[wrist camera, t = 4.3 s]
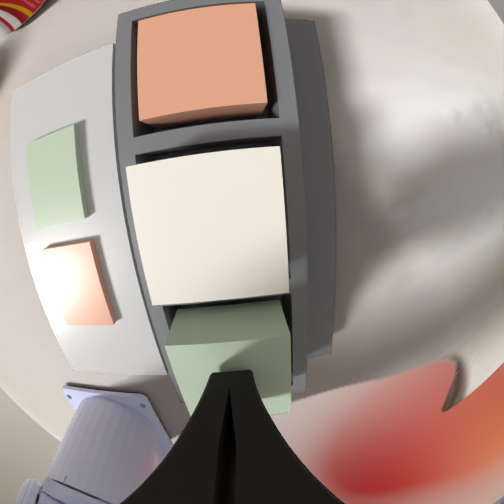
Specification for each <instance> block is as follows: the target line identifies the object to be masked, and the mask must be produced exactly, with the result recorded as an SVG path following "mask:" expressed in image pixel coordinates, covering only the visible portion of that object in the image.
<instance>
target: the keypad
mask: <svg viewBox="0 0 504 504" xmlns="http://www.w3.org/2000/svg"><path fill="white" fill-rule="evenodd" d="M248 3H255V6H256V13H257V20H258V27H259V35H260V42H261V50H262V58H263V67H264V75H265V84H266V93H267V105H266V106H265V108H264V110H263V112H262V114H261V116H252V117H240V118H230V119H221V120H212V121H205V122H198V123H191V124H185V125H179V126H173V127H167V128H162V129H158V128H155V127H153V126H151V125H148V124H146V123H144V122H141V121H139V109H138V84H137V41H138V21H140V20H144V19H147V18H151V17H155V16H160V15H164V14H168V13H173V12H178V11H184V10H190V9H196V8H203V7H210V6H219V5H231V4H248ZM274 146H280V153H281V165H282V177H283V191H284V205H285V220H286V236H287V254H288V275H289V293H282V294H273V295H265V296H256V297H246V298H237V299H226V300H216V301H205V302H193V303H180V304H166V305H152V302H151V298H150V294H149V290H148V286H147V282H146V278H145V274H144V269H143V265H142V261H141V256H140V251H139V247H138V242H137V237H136V231H135V226H134V220H133V215H132V209H131V202H130V196H129V189H128V181H127V174H126V167H128V166H133V165H137V164H142V163H148V162H153V161H158V160H164V159H170V158H176V157H182V156H188V155H195V154H202V153H210V152H218V151H227V150H237V149H247V148H259V147H274ZM10 155H11V170H12V180H13V189H14V196H15V203H16V209H17V215H18V220H19V225H20V230H21V235H22V239H23V243H24V247H25V251H26V255H27V259H28V262H29V266H30V269H31V273H32V276H33V279H34V282H35V285H36V288H37V291H38V294H39V297H40V299H41V302H42V305H43V307H44V310H45V313H46V315H47V318H48V320H49V322H50V325H51V327H52V329H53V332H54V334H55V336H56V338H57V340H58V343H59V345H60V347H61V349H62V351H63V353H64V355H65V357H66V359H67V361H68V363H69V365H70V367H71V368H72V370H77V371H87V372H98V373H111V374H129V375H168V371H169V374H170V376H171V379H172V382H173V384H174V387H175V389H176V392H177V395H178V397H179V399H180V402H185V401H184V399H183V396H182V394H181V391H180V389H179V386H178V383H177V381H176V378H175V375H174V372H173V369H172V367H171V364H170V361H169V358H168V355H167V352H166V349H165V343H166V340H167V337H168V334H169V331H170V328H171V325H172V323H173V320H174V317H175V314H176V311H177V309H187V308H200V307H211V306H223V305H233V304H243V303H252V302H261V301H270V300H280V303H281V306H282V310H283V313H284V316H285V319H286V322H287V325H288V329H289V332H290V335H291V394H293V393H299V392H305V389H306V366H307V358H308V357H314V356H320V355H325V354H330V353H331V347H332V334H333V320H334V303H335V277H336V206H335V181H334V164H333V150H332V137H331V127H330V117H329V108H328V100H327V92H326V85H325V78H324V71H323V65H322V58H321V53H320V47H319V42H318V36H317V31H316V26H315V22H314V21H307V20H290V19H284V14H283V8H282V3H281V0H170V1H165V2H161V3H157V4H153V5H149V6H145V7H141V8H138V9H134V10H131V11H128V12H125V13H122V14H119V15H118V22H117V34H116V44H113V43H112V44H109V45H106V46H104V47H101V48H98V49H96V50H93V51H90V52H88V53H86V54H83V55H81V56H78V57H76V58H74V59H72V60H69V61H67V62H65V63H63V64H61V65H59V66H57V67H55V68H53V69H51V70H49V71H47V72H45V73H43V74H42V75H40V76H38V77H36V78H34V79H33V80H31V81H29V82H28V83H26V84H24V85H23V86H21V87H19V88H18V89H16V90H15V91H13V92H12V93H11V106H10Z"/></svg>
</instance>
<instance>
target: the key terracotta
mask: <svg viewBox="0 0 504 504" xmlns="http://www.w3.org/2000/svg"><path fill="white" fill-rule="evenodd" d="M137 84H138V109H139V121H141V122H144V123H146V124H148V125H151V126H153V127H155V128H158V129H162V128H167V127H173V126H179V125H185V124H191V123H198V122H205V121H212V120H221V119H230V118H240V117H252V116H261V114H262V112H263V110H264V108H265V106H266V105H267V93H266V84H265V75H264V67H263V58H262V50H261V42H260V35H259V27H258V20H257V13H256V6H255V3H248V4H231V5H219V6H210V7H203V8H196V9H190V10H184V11H178V12H173V13H168V14H164V15H160V16H155V17H151V18H147V19H144V20H140V21H138V41H137Z"/></svg>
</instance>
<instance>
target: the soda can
mask: <svg viewBox="0 0 504 504" xmlns="http://www.w3.org/2000/svg"><path fill="white" fill-rule="evenodd" d="M46 1H47V0H0V37H3V36H6V35H8V34H10V33H11V32H13V31H14V30H16V29H17V28H18V27H20V26H21V25H22V24H24V23H25V22H26V21H28V20H29V19H30V18H31V17H32V16H33V15H34V14H35V13H36V12H37V11H38V10H39V9H40V8H41V7H42V6H43V4H44V3H45V2H46Z"/></svg>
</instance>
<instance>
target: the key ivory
mask: <svg viewBox="0 0 504 504" xmlns="http://www.w3.org/2000/svg"><path fill="white" fill-rule="evenodd" d="M126 174H127V181H128V189H129V196H130V202H131V209H132V215H133V220H134V226H135V231H136V237H137V242H138V247H139V251H140V256H141V261H142V265H143V269H144V274H145V278H146V282H147V286H148V290H149V294H150V298H151V302H152V305H166V304H180V303H193V302H205V301H216V300H226V299H237V298H246V297H256V296H265V295H273V294H282V293H289V275H288V254H287V236H286V220H285V205H284V191H283V177H282V165H281V153H280V146H274V147H259V148H247V149H237V150H227V151H218V152H210V153H202V154H195V155H188V156H182V157H176V158H170V159H164V160H158V161H153V162H148V163H142V164H137V165H133V166H128V167H126Z"/></svg>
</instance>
